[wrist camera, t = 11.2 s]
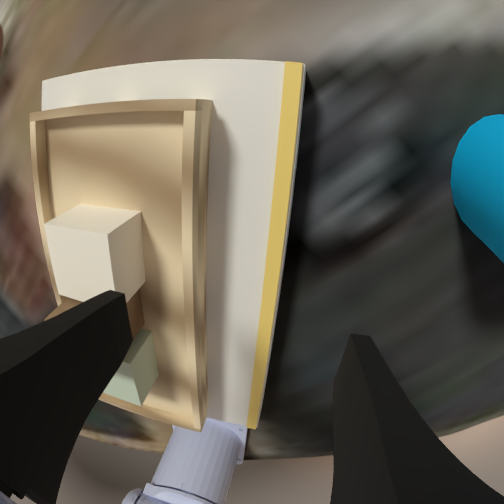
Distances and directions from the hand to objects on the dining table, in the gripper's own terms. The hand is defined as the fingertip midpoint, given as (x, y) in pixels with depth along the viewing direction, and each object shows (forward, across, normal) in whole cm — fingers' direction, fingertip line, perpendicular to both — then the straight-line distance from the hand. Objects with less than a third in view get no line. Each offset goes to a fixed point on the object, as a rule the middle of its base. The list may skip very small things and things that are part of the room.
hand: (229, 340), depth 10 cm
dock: (+10, +7, +4) cm, 13 cm away
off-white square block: (+6, +8, 0) cm, 10 cm away
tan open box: (+8, +8, +4) cm, 12 cm away
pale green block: (+6, +8, +8) cm, 13 cm away
